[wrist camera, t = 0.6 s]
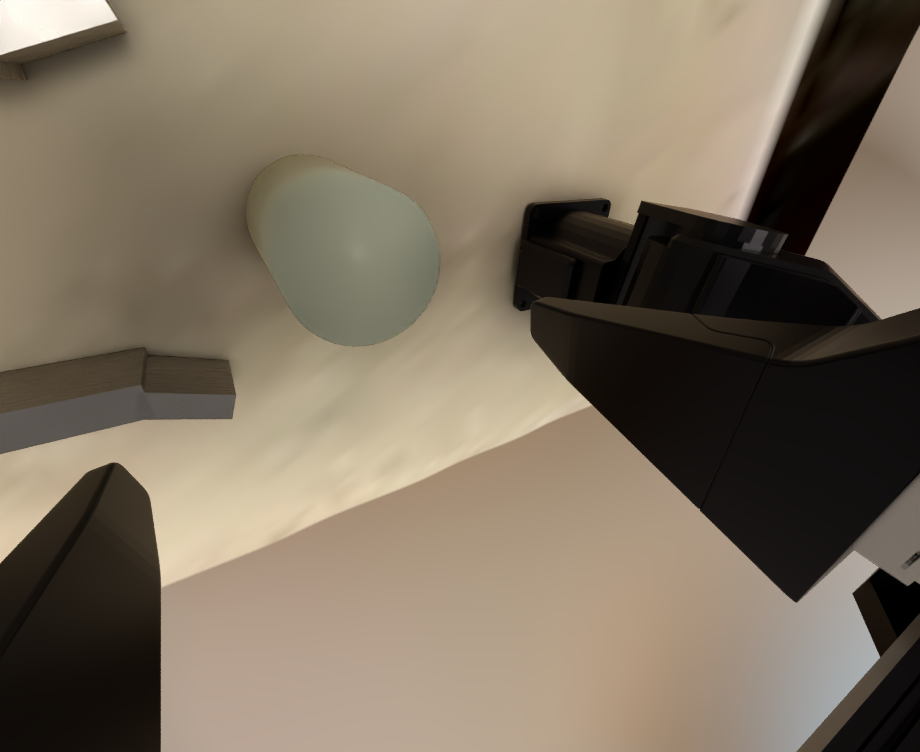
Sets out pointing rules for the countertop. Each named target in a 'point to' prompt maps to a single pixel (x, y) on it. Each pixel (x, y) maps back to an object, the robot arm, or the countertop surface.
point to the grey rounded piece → (343, 249)
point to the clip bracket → (111, 375)
